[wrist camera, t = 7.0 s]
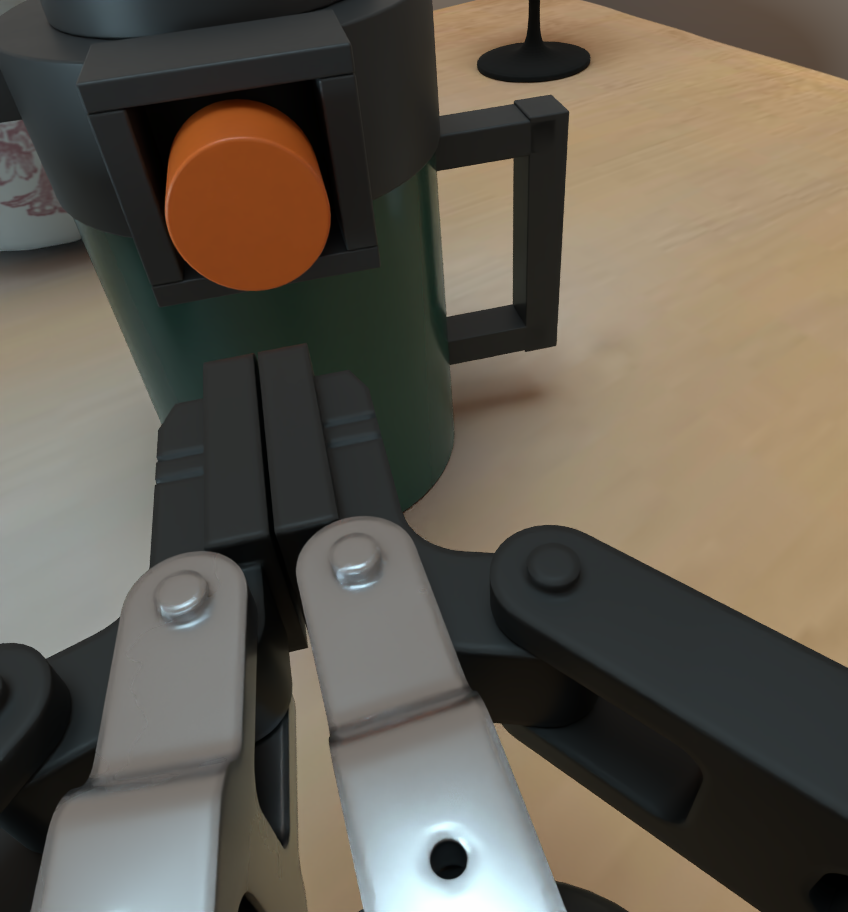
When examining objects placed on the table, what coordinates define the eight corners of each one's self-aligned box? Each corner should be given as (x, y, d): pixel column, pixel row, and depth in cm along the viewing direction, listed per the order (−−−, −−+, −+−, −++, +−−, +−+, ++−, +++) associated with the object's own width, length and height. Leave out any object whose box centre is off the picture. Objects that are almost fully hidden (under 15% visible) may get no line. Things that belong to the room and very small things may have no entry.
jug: (139, 393, 37) (-60, -57, 24) (507, 322, 39) (507, -130, 26) (115, 641, 27) (-259, 81, 14) (620, 526, 28) (713, -58, 16)
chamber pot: (-240, 292, 48) (-560, -109, 33) (27, 128, 66) (-105, -174, 52) (139, 330, 41) (-59, -152, 27) (317, 135, 60) (257, -209, 45)
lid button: (193, 254, 18) (146, 110, 16) (329, 230, 19) (304, 86, 16) (192, 305, 17) (140, 152, 14) (342, 277, 17) (316, 124, 15)
